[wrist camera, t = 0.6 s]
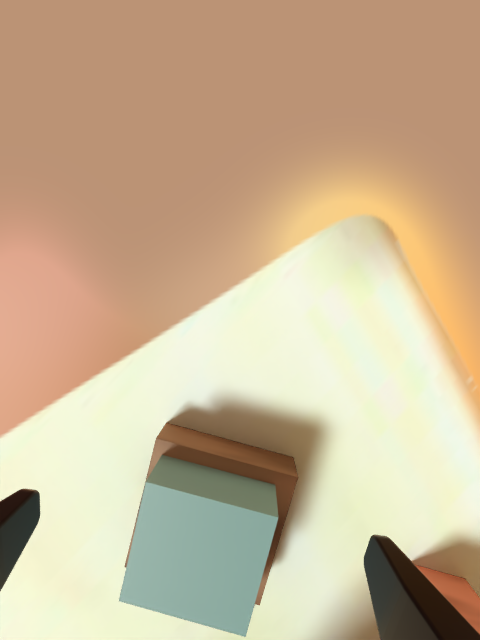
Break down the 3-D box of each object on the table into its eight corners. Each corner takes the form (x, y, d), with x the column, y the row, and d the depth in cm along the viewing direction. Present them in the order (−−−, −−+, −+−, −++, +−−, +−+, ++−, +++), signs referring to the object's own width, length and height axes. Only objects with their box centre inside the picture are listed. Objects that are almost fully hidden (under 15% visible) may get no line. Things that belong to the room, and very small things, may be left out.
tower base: (258, 566, 24) (259, 605, 21) (140, 533, 25) (124, 566, 22) (292, 453, 23) (298, 477, 20) (168, 419, 24) (156, 438, 21)
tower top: (247, 588, 21) (245, 636, 18) (138, 558, 21) (119, 600, 18) (275, 484, 20) (278, 517, 17) (161, 454, 21) (145, 481, 18)
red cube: (445, 627, 24) (490, 706, 19) (389, 612, 24) (421, 686, 19) (464, 577, 23) (514, 645, 19) (407, 561, 23) (444, 626, 19)
